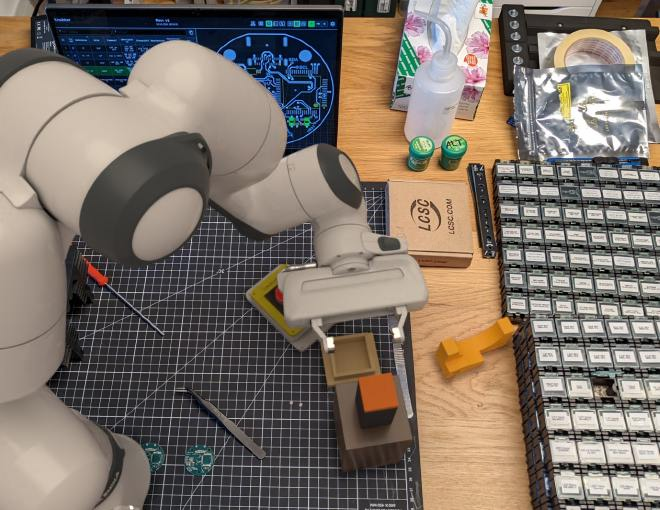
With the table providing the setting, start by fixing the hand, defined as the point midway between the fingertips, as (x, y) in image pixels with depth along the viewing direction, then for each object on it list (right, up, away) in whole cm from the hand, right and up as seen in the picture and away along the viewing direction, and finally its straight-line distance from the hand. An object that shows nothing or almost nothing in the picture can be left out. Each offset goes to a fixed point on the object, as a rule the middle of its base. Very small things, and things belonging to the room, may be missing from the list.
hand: (364, 347), depth 83 cm
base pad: (-1, -5, +21) cm, 22 cm away
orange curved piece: (+19, -5, +22) cm, 30 cm away
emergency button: (-11, +3, +26) cm, 28 cm away
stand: (+1, -17, +15) cm, 22 cm away
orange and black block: (+1, -9, +1) cm, 9 cm away
